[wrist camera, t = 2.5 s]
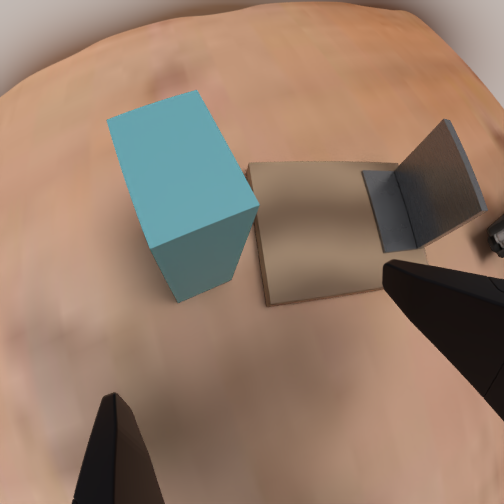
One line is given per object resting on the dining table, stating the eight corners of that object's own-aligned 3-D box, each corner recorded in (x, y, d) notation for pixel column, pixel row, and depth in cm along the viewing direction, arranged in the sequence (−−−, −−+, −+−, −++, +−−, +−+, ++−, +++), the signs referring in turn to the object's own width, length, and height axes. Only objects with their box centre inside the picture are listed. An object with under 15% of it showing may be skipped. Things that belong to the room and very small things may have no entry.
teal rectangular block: (231, 280, 22) (259, 205, 11) (178, 303, 21) (149, 249, 10) (197, 206, 24) (196, 89, 12) (147, 227, 23) (106, 119, 11)
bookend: (421, 248, 24) (487, 210, 16) (383, 253, 23) (449, 211, 16) (398, 172, 26) (449, 120, 18) (360, 172, 25) (409, 112, 18)
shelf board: (421, 282, 25) (431, 277, 23) (266, 306, 22) (270, 303, 21) (390, 171, 28) (397, 163, 26) (246, 172, 25) (248, 162, 24)
